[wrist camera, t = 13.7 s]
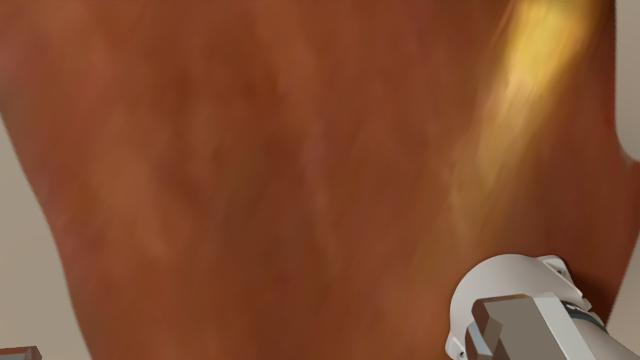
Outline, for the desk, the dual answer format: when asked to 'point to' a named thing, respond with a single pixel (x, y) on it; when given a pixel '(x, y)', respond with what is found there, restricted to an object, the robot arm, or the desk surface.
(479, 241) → the desk surface
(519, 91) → the desk surface
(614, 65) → the desk surface
